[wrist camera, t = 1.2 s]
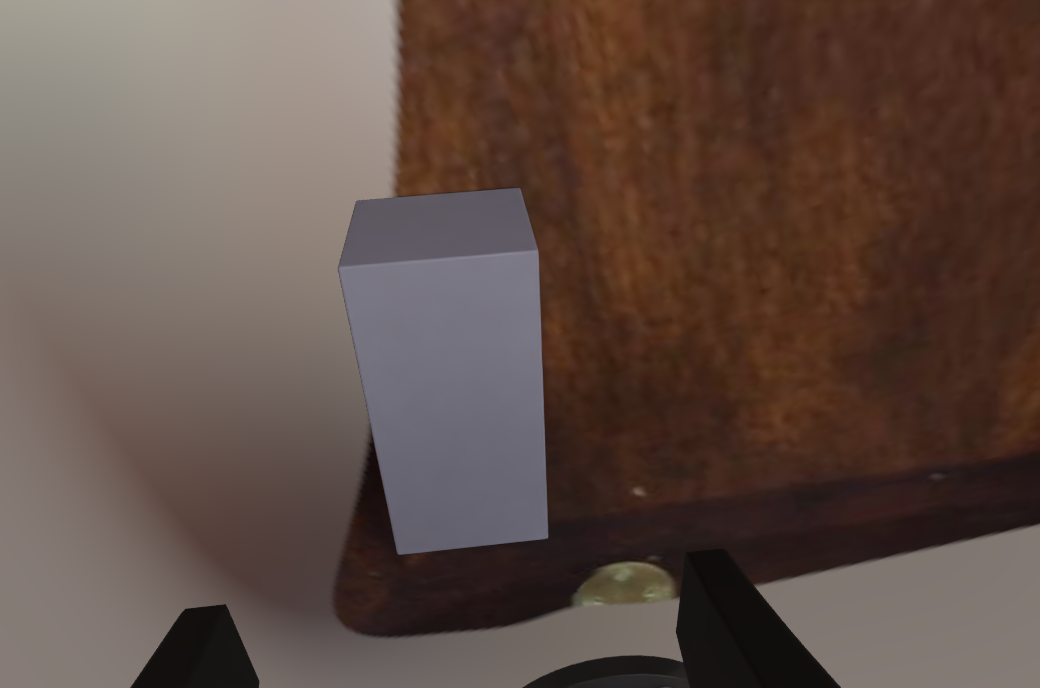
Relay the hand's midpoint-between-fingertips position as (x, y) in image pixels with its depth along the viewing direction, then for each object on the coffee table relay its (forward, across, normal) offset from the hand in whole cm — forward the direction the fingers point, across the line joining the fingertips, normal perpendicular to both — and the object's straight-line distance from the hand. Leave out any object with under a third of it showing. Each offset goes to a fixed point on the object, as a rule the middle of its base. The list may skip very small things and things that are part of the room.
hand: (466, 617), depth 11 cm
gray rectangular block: (+8, 0, 0) cm, 8 cm away
